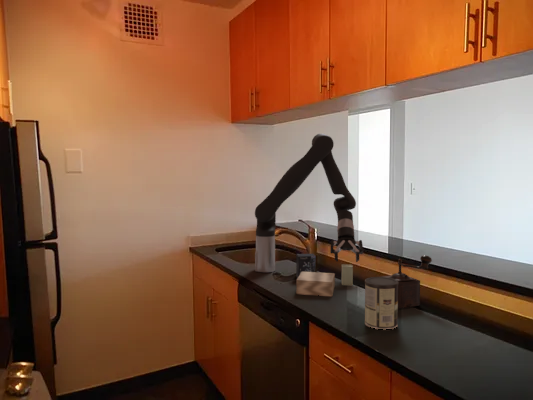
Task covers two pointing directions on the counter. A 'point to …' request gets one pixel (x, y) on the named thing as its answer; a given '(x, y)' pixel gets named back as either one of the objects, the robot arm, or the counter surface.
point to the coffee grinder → (409, 284)
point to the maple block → (316, 283)
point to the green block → (347, 274)
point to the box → (305, 263)
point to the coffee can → (381, 303)
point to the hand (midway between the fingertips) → (347, 260)
